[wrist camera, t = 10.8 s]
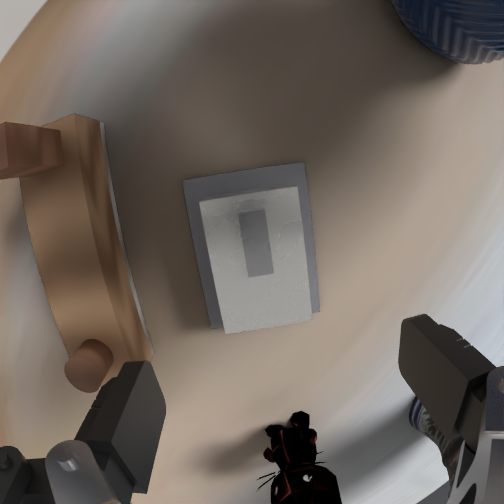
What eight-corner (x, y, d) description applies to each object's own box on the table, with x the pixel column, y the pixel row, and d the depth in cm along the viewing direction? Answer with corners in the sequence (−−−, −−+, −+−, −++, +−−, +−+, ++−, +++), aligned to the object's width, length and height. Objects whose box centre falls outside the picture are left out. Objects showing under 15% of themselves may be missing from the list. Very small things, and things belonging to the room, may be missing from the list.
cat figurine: (304, 395, 28) (331, 493, 17) (334, 429, 30) (363, 514, 18) (245, 426, 29) (249, 522, 18) (280, 455, 31) (292, 541, 19)
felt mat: (183, 180, 23) (182, 180, 22) (302, 162, 23) (304, 161, 22) (212, 325, 26) (211, 328, 25) (318, 308, 26) (320, 311, 25)
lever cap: (205, 196, 23) (198, 203, 18) (287, 183, 23) (299, 187, 18) (227, 309, 25) (225, 338, 21) (301, 297, 25) (314, 323, 21)
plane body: (49, 141, 21) (-41, 135, 11) (103, 122, 21) (21, 98, 11) (102, 355, 26) (53, 432, 16) (154, 352, 26) (119, 439, 16)
